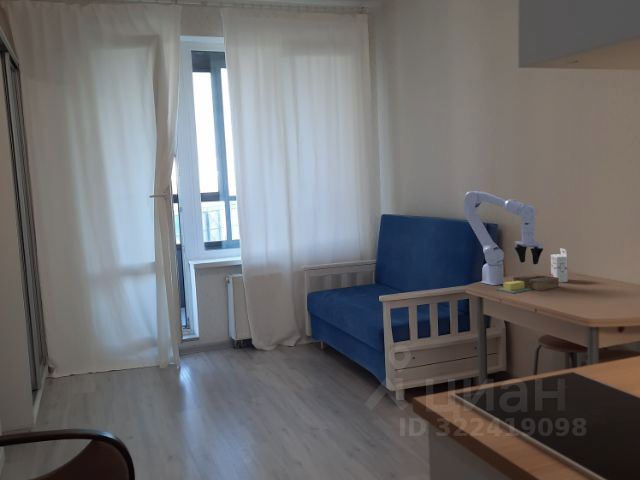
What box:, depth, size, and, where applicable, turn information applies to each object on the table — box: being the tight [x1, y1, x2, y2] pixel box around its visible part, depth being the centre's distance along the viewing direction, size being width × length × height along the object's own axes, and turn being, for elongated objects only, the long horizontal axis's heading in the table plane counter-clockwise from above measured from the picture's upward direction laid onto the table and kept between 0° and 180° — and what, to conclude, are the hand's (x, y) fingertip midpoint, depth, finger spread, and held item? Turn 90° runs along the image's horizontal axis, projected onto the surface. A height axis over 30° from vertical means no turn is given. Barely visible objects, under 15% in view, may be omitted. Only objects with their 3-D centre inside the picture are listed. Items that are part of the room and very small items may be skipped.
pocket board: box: [513, 273, 560, 291], centre depth 273 cm, size 14×12×4 cm
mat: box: [496, 287, 532, 294], centre depth 268 cm, size 10×10×1 cm
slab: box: [502, 280, 525, 291], centre depth 268 cm, size 4×8×3 cm, turn 116°
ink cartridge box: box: [550, 247, 569, 283], centre depth 282 cm, size 9×5×15 cm, turn 179°
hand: (529, 263), depth 276 cm, fingers open, 7 cm apart
